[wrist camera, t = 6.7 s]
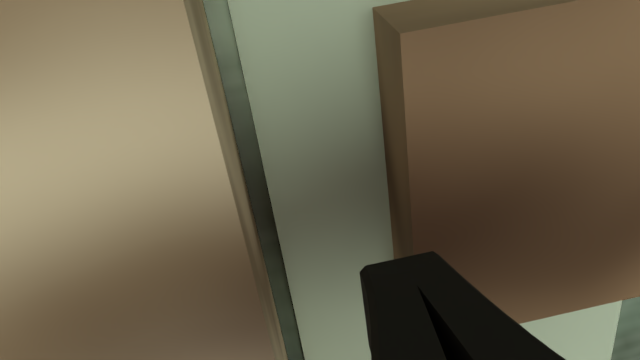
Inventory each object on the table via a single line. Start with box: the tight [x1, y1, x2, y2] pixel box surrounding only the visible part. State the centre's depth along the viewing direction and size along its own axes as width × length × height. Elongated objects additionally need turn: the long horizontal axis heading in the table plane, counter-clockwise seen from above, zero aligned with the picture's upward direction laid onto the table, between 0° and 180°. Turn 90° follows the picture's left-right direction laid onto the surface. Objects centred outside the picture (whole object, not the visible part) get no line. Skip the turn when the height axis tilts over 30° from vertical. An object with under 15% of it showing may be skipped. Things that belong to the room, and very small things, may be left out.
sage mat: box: [227, 0, 622, 360], centre depth 14 cm, size 20×10×1 cm, turn 8°
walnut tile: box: [372, 0, 640, 324], centre depth 13 cm, size 8×6×2 cm
